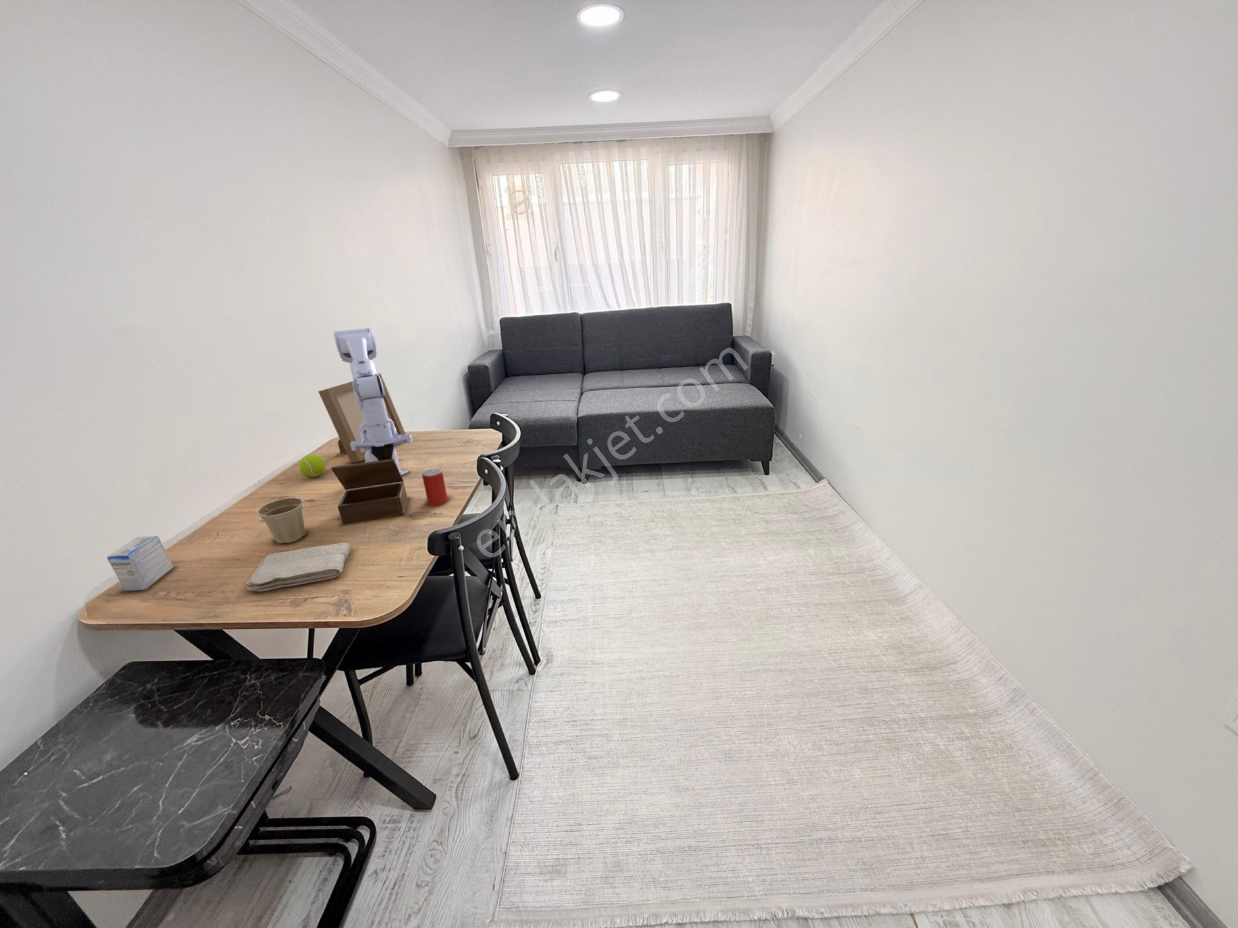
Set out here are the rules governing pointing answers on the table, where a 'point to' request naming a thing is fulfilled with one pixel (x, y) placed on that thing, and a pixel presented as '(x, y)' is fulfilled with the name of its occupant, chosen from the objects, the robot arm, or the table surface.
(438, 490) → the can
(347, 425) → the photo frame
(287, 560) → the washcloth
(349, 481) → the lid
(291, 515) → the flower pot
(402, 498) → the storage box
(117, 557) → the medicine box
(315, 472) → the tennis ball
